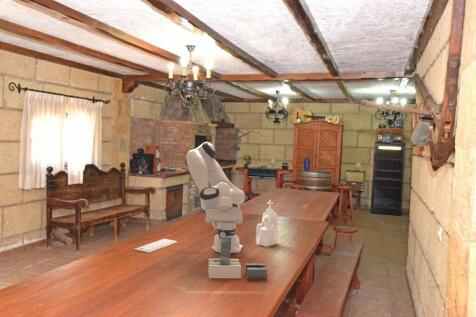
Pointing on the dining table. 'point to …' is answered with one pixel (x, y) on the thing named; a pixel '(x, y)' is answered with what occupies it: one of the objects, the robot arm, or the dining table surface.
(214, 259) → the pine offcut
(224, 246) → the teal board
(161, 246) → the white keyboard
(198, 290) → the dining table surface
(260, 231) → the religious statue
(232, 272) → the white rack
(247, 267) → the charcoal holder
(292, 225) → the dining table surface
